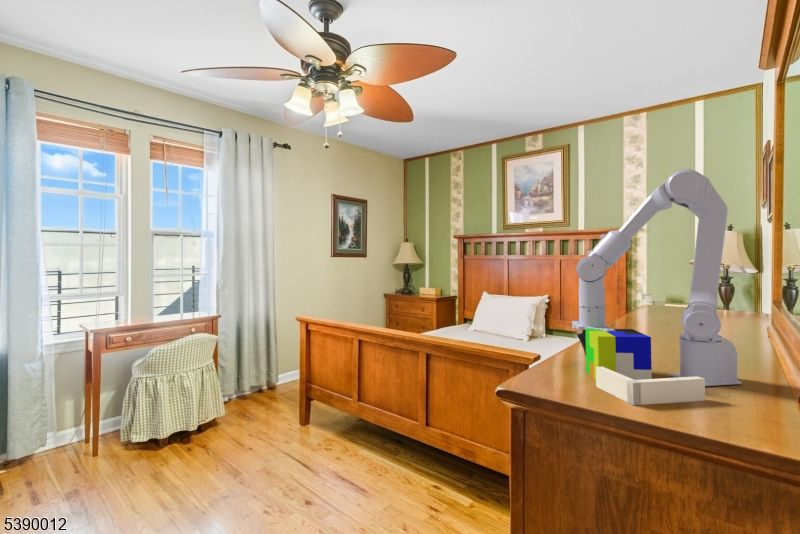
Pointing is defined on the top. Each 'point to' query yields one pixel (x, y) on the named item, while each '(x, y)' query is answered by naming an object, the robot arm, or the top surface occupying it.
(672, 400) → the corner walls
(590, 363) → the puzzle toy
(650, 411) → the top surface
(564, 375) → the top surface
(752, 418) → the top surface
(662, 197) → the robot arm
